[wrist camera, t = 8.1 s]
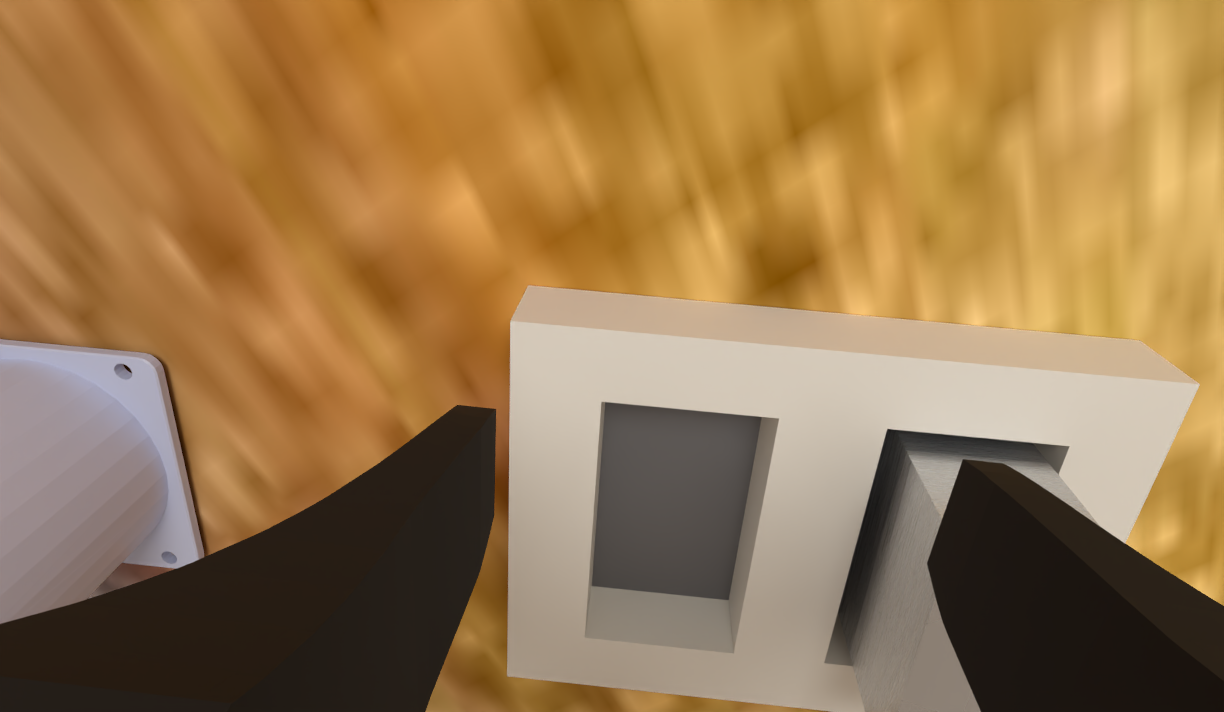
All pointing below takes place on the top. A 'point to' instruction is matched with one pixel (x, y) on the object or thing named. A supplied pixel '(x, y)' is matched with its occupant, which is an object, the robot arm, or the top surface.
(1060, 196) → the top surface
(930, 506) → the tall grey block
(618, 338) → the light grey flat piece
